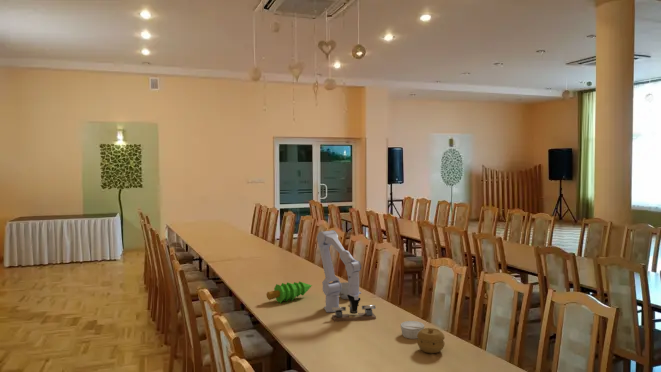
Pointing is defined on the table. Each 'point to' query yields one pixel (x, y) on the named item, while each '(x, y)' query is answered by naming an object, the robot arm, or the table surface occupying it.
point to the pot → (430, 340)
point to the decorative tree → (288, 291)
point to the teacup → (344, 290)
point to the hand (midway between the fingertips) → (353, 309)
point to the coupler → (351, 309)
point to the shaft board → (353, 317)
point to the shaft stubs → (339, 311)
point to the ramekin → (411, 329)
